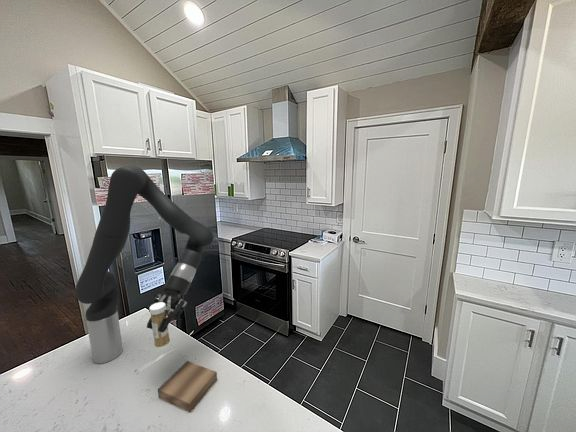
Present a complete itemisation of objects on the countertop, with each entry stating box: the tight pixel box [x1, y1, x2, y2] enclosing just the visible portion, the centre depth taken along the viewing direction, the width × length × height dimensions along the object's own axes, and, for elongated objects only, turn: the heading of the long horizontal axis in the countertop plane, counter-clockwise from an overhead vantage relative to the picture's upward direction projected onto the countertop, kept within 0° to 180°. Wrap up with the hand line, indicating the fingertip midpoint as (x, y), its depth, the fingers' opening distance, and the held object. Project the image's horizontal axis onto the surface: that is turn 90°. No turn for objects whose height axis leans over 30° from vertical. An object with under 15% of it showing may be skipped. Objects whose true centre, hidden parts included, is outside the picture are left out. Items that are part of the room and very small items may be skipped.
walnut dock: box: [157, 360, 218, 413], centre depth 75 cm, size 13×12×3 cm
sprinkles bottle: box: [148, 302, 171, 348], centre depth 75 cm, size 5×5×14 cm
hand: (155, 329), depth 73 cm, fingers closed on sprinkles bottle, 4 cm apart
